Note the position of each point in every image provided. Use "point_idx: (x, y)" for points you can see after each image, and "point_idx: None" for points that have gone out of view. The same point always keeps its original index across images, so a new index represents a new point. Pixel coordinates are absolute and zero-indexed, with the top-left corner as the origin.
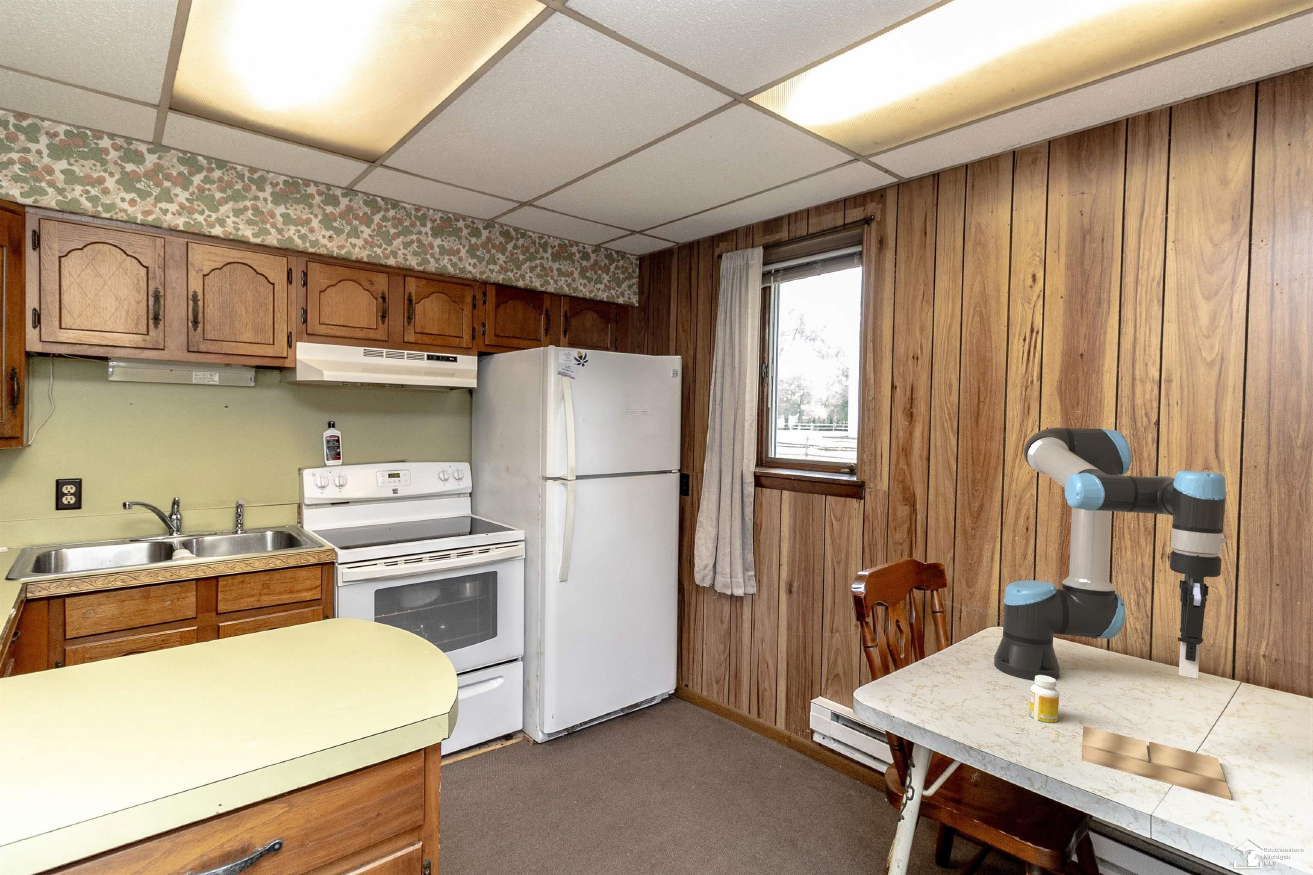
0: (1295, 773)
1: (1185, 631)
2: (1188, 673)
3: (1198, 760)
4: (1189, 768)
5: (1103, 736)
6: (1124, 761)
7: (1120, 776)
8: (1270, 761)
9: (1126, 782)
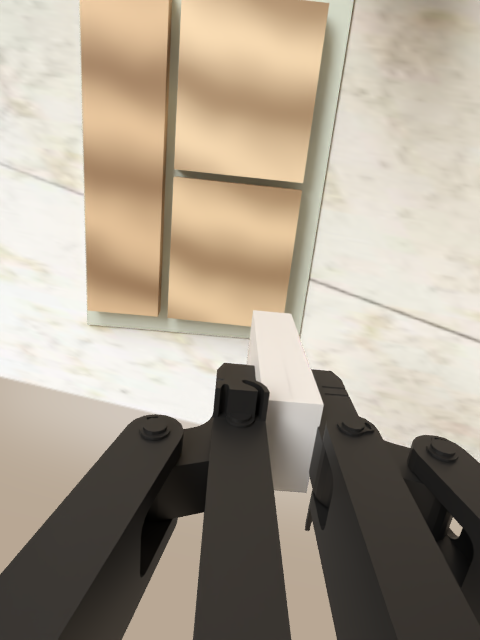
0: None
1: (96, 473)
2: (249, 347)
3: (244, 286)
4: (186, 257)
5: (274, 63)
6: (128, 103)
7: None
8: (382, 424)
9: (58, 101)
